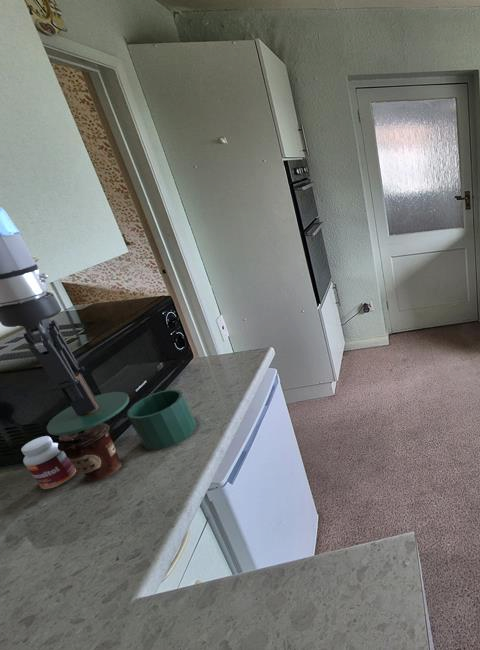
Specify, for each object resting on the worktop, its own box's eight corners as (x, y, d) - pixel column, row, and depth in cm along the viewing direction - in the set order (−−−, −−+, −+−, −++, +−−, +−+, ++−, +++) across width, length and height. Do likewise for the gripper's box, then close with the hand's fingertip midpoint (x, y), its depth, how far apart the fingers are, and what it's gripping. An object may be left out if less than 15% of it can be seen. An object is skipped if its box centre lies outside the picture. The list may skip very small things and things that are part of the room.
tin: (135, 455, 94) (117, 422, 90) (158, 425, 104) (142, 394, 100) (185, 445, 96) (169, 412, 92) (203, 417, 106) (189, 386, 102)
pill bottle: (35, 494, 85) (8, 458, 81) (50, 474, 91) (25, 439, 86) (70, 484, 87) (45, 447, 83) (82, 465, 93) (59, 430, 88)
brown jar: (106, 487, 86) (78, 443, 80) (71, 489, 86) (41, 445, 81) (136, 458, 93) (113, 416, 88) (104, 459, 94) (79, 417, 89)
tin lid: (31, 443, 70) (3, 403, 66) (79, 402, 81) (56, 365, 77) (107, 430, 71) (83, 390, 68) (143, 391, 82) (124, 355, 79)
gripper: (46, 302, 62) (112, 416, 72) (55, 282, 73) (110, 383, 83) (-21, 318, 58) (58, 437, 67) (-1, 294, 69) (64, 399, 79)
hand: (87, 407), depth 75 cm, fingers closed on tin lid, 3 cm apart
